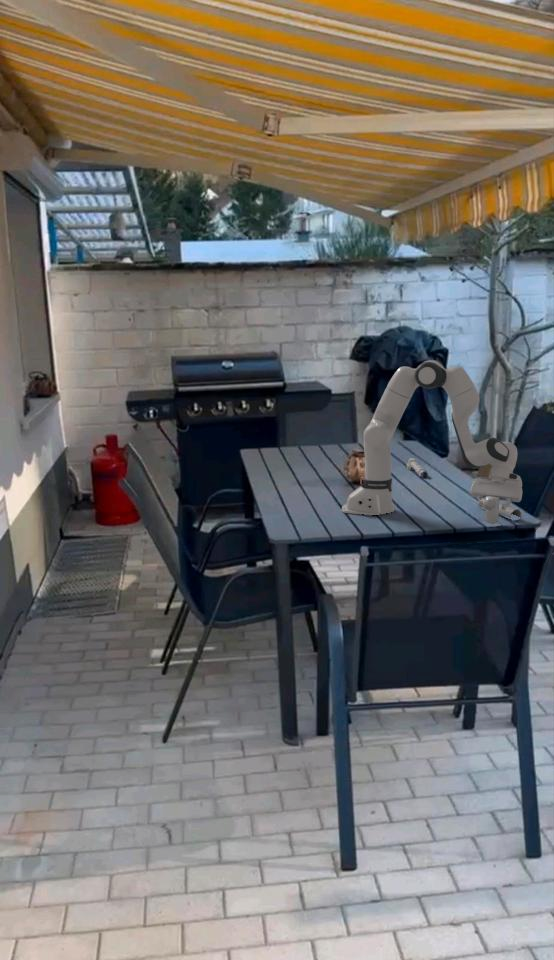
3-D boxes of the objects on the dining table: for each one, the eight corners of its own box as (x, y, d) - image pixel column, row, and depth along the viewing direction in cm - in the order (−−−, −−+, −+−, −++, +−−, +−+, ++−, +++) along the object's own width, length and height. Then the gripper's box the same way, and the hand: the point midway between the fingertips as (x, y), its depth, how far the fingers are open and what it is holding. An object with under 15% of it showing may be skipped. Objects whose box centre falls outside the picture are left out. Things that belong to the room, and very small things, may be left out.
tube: (473, 499, 338) (509, 512, 315) (484, 494, 339) (520, 507, 316) (476, 510, 339) (512, 524, 316) (487, 505, 341) (522, 518, 318)
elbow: (486, 521, 315) (487, 495, 313) (500, 523, 312) (501, 496, 310) (480, 526, 309) (481, 499, 306) (494, 528, 306) (495, 500, 304)
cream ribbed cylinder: (419, 471, 395) (405, 455, 418) (418, 483, 398) (405, 467, 421) (429, 470, 396) (415, 455, 419) (428, 483, 398) (414, 466, 421)
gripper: (473, 471, 318) (464, 500, 312) (524, 476, 308) (516, 506, 302) (476, 480, 323) (467, 508, 317) (526, 485, 313) (518, 514, 307)
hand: (491, 507), depth 309 cm, fingers open, 8 cm apart
